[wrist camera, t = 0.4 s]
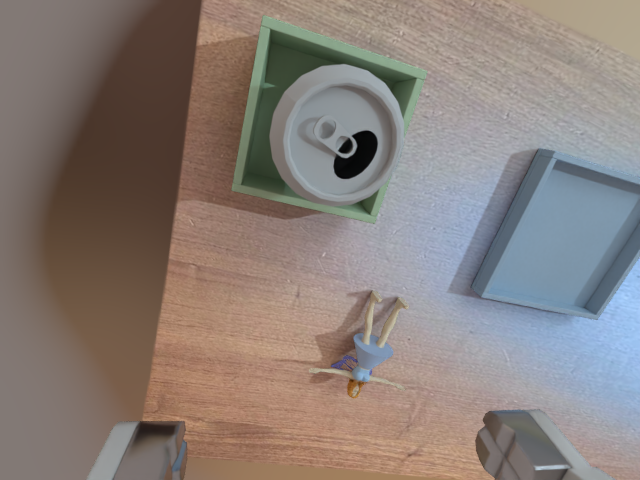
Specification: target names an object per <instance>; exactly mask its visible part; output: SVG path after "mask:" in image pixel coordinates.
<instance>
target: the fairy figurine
mask: <svg viewBox="0 0 640 480" xmlns="http://www.w3.org/2000/svg"><path fill="white" fill-rule="evenodd" d="M376 301H377V302H381V301H382V298H381V296H380V295H379V293H378V292H376V291H372V293H371V297H370V303H369V306H368V309H367V311H366V314H365V331H364V333H358V334H356V335H355V336H354V343H355V348H356V354H357V359H358V361H357V360H356V359H354V358H353V357H351V356H349V357H348V355H346V356H347V357H346V356H344V357H343V360H341V361H339V362H338V363H335V364H333V365H334V366H336V365H339V364H340V363H342V364H340V365H339V368H340V369H341V370H338V369H339V368H338V366H337V368H338V369H334V368H336V367H334V368H328V369H319V368H310V369H312V371H309V372H310V373H313V372H315V373H314V374H316V373H318V372H327V373H336V374H340V375H343V376H345V377H348V378H349V383H348V387H347V392H348V395H349V396H350V397H352V398H357V397H358V395H359V393H360V389H361V388H362V386H363V385H364V384H363V383H365V385H366V382H367V381H378V382H382V383H385V384H389V385H393V386H395V387H397V388H398V389H400V390H404V391H406V389H405V388H404V389H403V387H404V386H401V385H399V384H396V383H392V382H390V381H388V380H385V379H383V378H379V377H374V376H371V374H372V368H374V367H375V366H377V365H378V364H380V363H382V362H383V361H385V360H386V359H388V358H389V357H391V356H392V355H393V350H392V348H391V347H390V346H389V345H388V344H387V343H386V340H387V337H388V334H389V333H390V331H391V330H392V328H393V327H394V325H395V322H396V319H397V316H398V313H399V311H400V309H401V308H404V309H408V308H409V305H408V304H407V303H406V301H405V300H404V299H402V298H399V297H398V298H397V301H396V305H395V308H394V309H393V311H392V313H391V314H390V316H389V318H388V319H387V321H386V322H385V324H384V326H383V329H382V332H381V336H380V338H378V337H376V336H373V335H370V334H371V329H372V319H373V310H374V305H375V302H376ZM344 359H345V360H344ZM346 359H347V360H348V359H349V360H350V359H352V360H353V361H355V362H356V364H357V362H358V365H357V366H356V367H355V368H353V369H352V368H351V367H349V366H348V365H347V364H346V362H347V361H346ZM350 362H351V361H350ZM343 363H345V364H346V365H347V366H348V367H349V368H350V369H352V371H351V372H349V371H346V369H345V370H343V369H342V368H341V367H340V366H342V365H343ZM347 363H348V362H347ZM348 364H349V363H348ZM333 365H332V366H331V367H333ZM349 365H350V364H349ZM352 365H353V364H352ZM350 366H351V365H350ZM362 381H364V382H362Z"/></svg>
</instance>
